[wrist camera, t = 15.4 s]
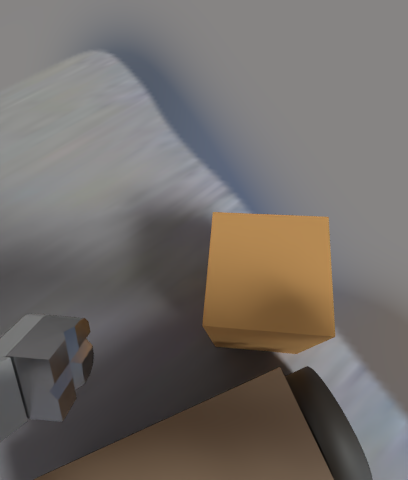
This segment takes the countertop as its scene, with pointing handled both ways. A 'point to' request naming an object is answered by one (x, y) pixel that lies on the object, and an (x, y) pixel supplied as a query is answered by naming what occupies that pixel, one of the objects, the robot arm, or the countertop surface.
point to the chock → (269, 282)
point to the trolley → (238, 439)
